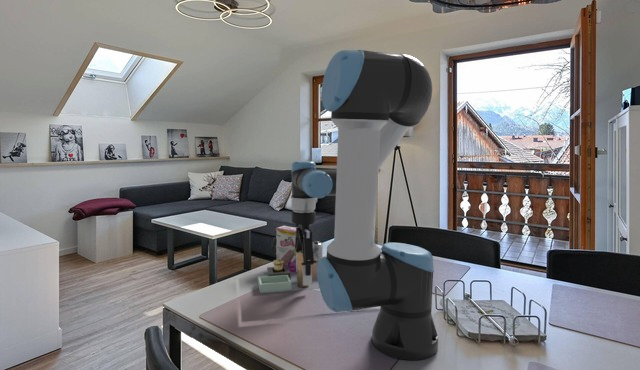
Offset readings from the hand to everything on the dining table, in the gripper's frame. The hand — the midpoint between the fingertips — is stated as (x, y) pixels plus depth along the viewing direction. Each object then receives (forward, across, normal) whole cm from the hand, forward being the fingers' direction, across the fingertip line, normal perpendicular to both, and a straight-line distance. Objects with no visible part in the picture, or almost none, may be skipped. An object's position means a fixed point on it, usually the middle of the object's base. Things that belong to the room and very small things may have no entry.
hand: (303, 278), depth 120 cm
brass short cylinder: (+1, +8, +7) cm, 11 cm away
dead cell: (+3, +10, -6) cm, 12 cm away
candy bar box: (+4, +17, +1) cm, 18 cm away
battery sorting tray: (+4, +5, +2) cm, 7 cm away
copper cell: (+3, 0, 0) cm, 3 cm away
